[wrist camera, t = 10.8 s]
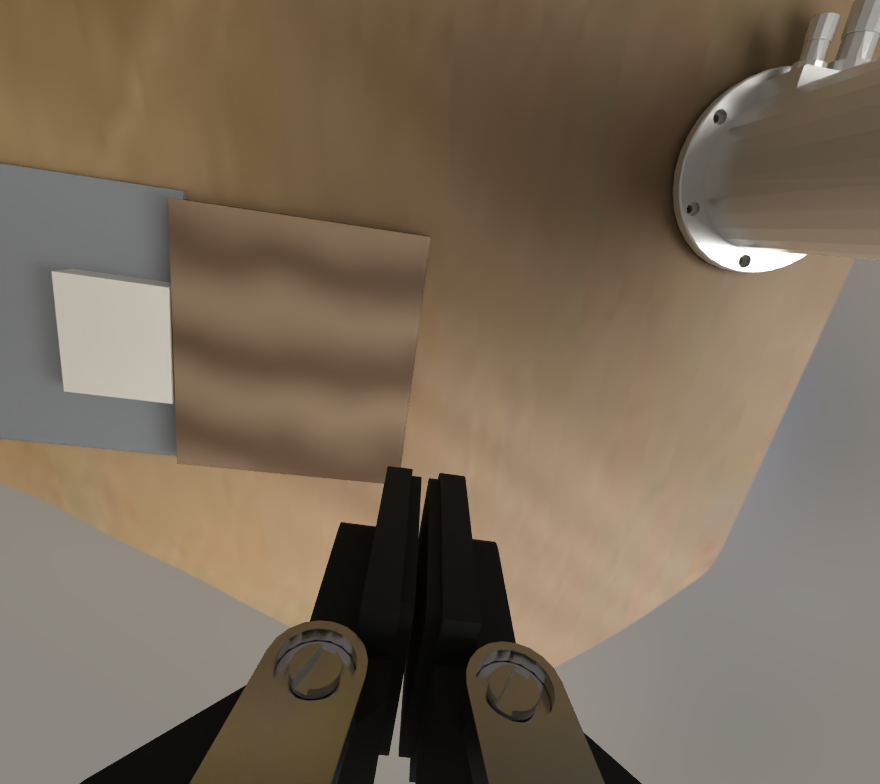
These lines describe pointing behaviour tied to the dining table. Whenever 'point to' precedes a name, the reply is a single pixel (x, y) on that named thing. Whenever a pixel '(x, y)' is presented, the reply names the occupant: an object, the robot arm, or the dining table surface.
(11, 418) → the mat
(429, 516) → the robot arm
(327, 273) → the board
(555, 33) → the dining table surface
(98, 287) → the tile
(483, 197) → the dining table surface
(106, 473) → the dining table surface
